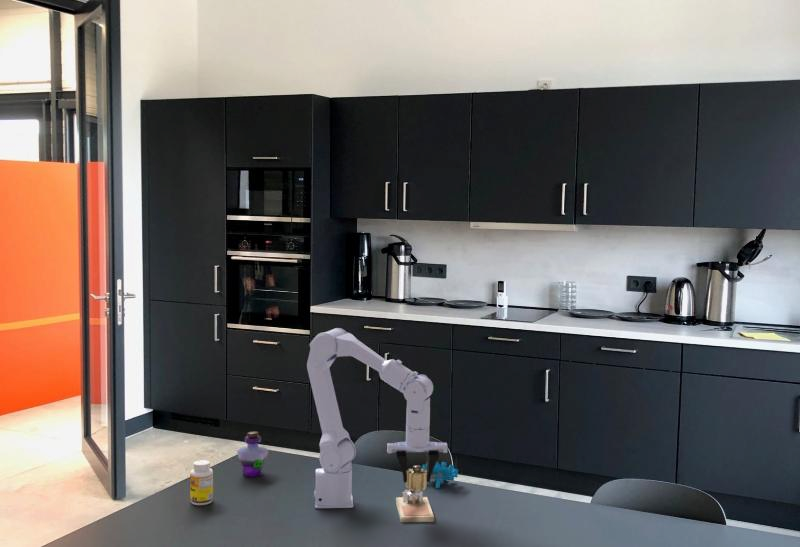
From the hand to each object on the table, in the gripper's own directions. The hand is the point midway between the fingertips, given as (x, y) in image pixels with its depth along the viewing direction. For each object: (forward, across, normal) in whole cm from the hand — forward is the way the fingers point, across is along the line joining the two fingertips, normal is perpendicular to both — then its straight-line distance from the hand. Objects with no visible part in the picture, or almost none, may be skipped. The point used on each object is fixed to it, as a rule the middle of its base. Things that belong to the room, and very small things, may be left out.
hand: (416, 481), depth 192 cm
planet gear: (+2, 0, 0) cm, 2 cm away
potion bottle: (+9, -42, +31) cm, 53 cm away
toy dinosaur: (+9, +9, +22) cm, 25 cm away
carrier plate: (+9, 0, +2) cm, 9 cm away
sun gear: (+7, 0, +7) cm, 10 cm away
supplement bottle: (+9, -53, +11) cm, 55 cm away
